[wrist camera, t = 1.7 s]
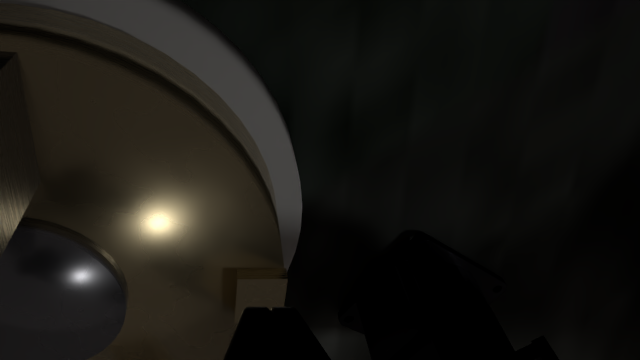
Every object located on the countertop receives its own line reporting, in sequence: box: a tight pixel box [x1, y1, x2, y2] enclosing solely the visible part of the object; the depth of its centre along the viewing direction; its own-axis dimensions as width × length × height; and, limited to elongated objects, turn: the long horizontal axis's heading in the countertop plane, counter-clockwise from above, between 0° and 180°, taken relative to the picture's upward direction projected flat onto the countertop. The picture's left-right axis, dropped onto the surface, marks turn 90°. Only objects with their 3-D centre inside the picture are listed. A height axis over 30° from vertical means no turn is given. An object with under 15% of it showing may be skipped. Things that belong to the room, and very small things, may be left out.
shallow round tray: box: [0, 3, 288, 360], centre depth 16 cm, size 16×16×7 cm
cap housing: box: [0, 0, 302, 271], centre depth 19 cm, size 18×18×2 cm
